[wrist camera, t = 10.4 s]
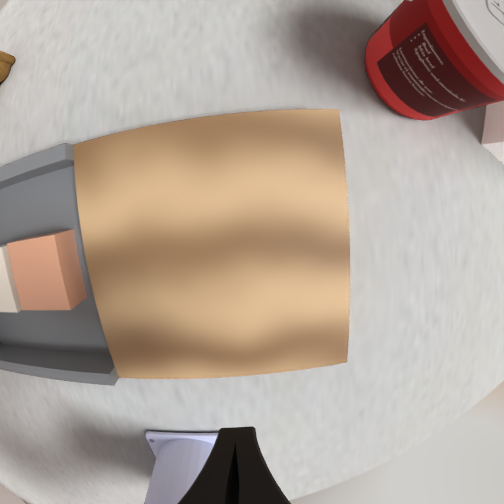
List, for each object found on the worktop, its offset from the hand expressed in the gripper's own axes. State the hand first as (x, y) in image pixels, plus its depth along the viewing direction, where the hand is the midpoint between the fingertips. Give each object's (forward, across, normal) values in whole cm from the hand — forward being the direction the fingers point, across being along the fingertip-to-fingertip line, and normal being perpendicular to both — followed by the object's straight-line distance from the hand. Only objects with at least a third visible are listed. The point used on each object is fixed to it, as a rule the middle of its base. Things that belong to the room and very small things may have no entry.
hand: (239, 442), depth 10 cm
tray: (+10, +17, -6) cm, 21 cm away
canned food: (+11, -14, -18) cm, 25 cm away
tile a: (+10, +13, -6) cm, 18 cm away
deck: (+10, +1, -6) cm, 12 cm away
